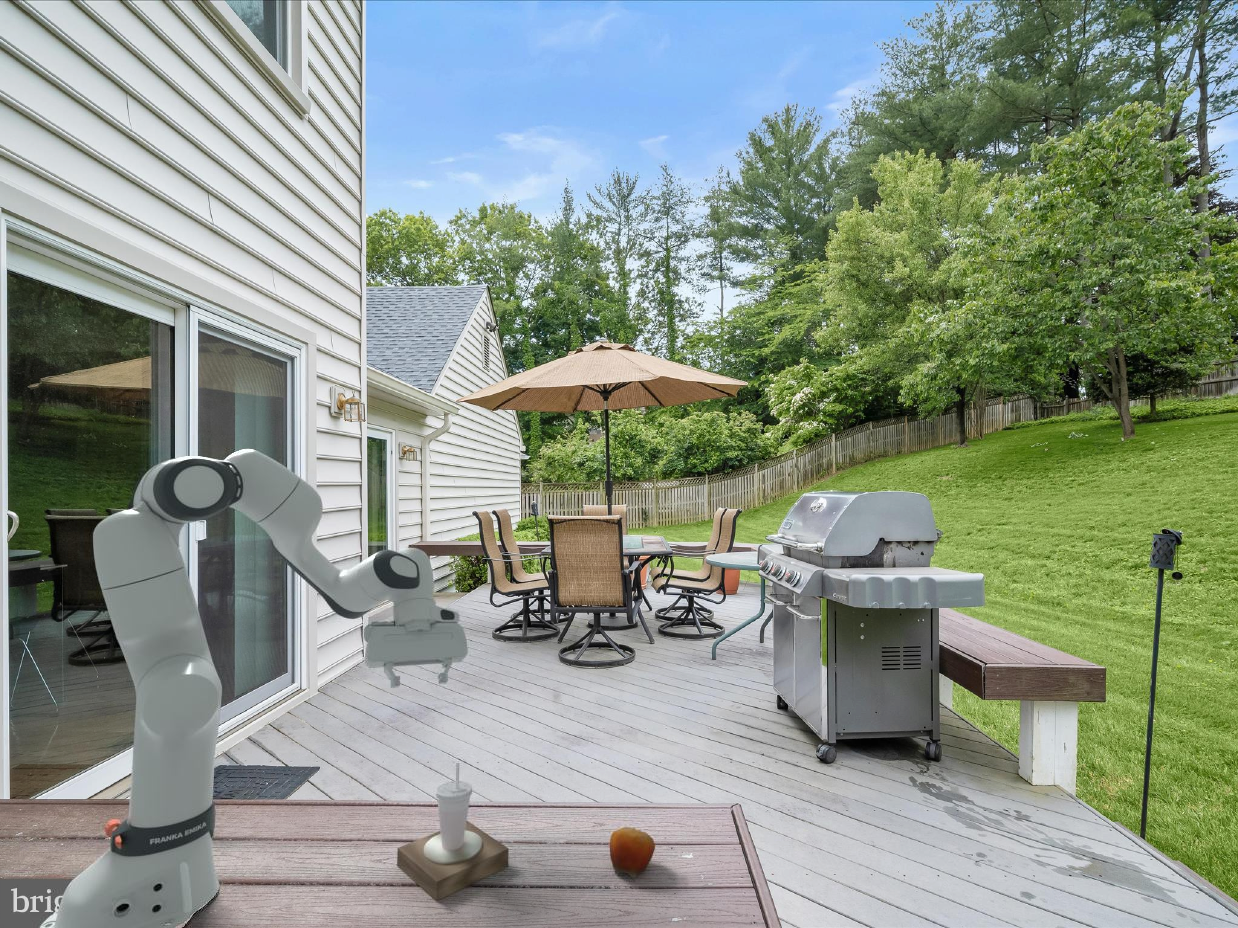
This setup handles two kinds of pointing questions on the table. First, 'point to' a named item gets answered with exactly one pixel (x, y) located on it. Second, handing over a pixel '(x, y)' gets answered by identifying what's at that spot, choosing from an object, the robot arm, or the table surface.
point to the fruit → (631, 850)
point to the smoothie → (453, 811)
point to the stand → (451, 861)
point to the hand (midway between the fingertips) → (420, 684)
